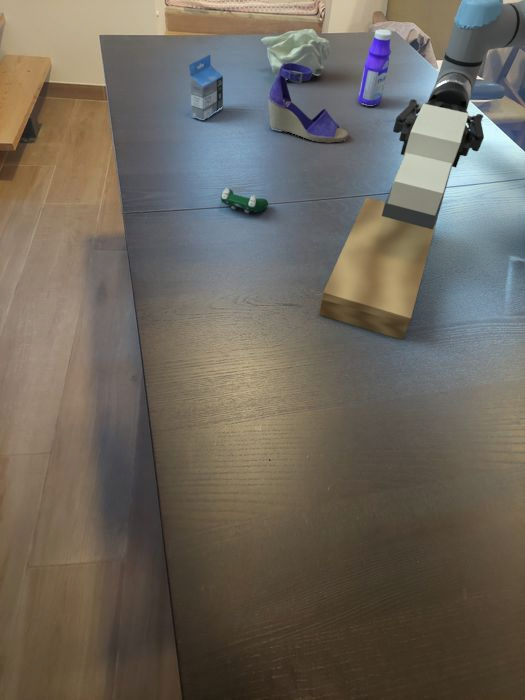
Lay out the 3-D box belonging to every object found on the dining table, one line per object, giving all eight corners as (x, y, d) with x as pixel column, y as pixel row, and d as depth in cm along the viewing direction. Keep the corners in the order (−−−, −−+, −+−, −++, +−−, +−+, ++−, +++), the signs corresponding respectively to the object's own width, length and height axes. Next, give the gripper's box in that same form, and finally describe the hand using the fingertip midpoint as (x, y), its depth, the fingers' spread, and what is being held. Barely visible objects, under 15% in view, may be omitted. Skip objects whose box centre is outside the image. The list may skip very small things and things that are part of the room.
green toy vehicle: (223, 208, 105) (214, 200, 100) (228, 190, 105) (219, 181, 99) (264, 219, 104) (257, 213, 98) (270, 201, 103) (263, 193, 97)
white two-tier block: (450, 167, 96) (470, 113, 88) (432, 229, 82) (454, 172, 74) (406, 156, 97) (421, 103, 90) (381, 216, 83) (397, 158, 76)
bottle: (372, 110, 137) (388, 38, 123) (353, 104, 138) (367, 32, 125) (383, 101, 141) (400, 30, 128) (365, 95, 143) (379, 25, 130)
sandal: (342, 149, 121) (354, 83, 110) (263, 132, 125) (267, 66, 113) (349, 134, 127) (361, 70, 115) (273, 118, 130) (278, 54, 119)
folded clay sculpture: (277, 104, 151) (258, 57, 138) (278, 75, 157) (259, 28, 144) (337, 85, 145) (322, 34, 132) (335, 56, 150) (321, 4, 138)
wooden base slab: (430, 236, 100) (438, 215, 96) (402, 340, 81) (411, 318, 77) (361, 218, 103) (366, 196, 99) (318, 314, 84) (323, 292, 80)
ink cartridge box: (204, 122, 126) (202, 69, 117) (191, 118, 127) (188, 65, 118) (223, 109, 132) (223, 57, 122) (210, 105, 133) (209, 54, 123)
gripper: (495, 132, 100) (485, 188, 86) (391, 109, 104) (365, 159, 90) (511, 93, 95) (503, 146, 80) (401, 70, 99) (374, 117, 84)
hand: (430, 153), depth 85 cm, fingers closed on white two-tier block, 8 cm apart
